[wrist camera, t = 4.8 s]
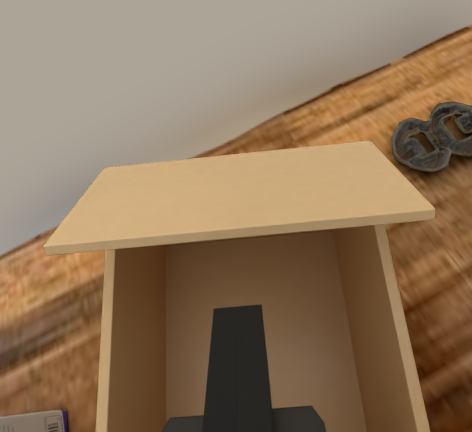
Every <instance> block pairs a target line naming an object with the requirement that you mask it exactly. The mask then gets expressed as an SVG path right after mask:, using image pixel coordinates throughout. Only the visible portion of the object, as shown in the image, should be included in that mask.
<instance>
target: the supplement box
mask: <svg viewBox="0 0 472 432" xmlns="http://www.w3.org/2000/svg"><path fill="white" fill-rule="evenodd" d="M0 432H68V426H67V411H66V410H52V411H44V412H35V413H27V414H20V415H12V416H5V417H0Z"/></svg>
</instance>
